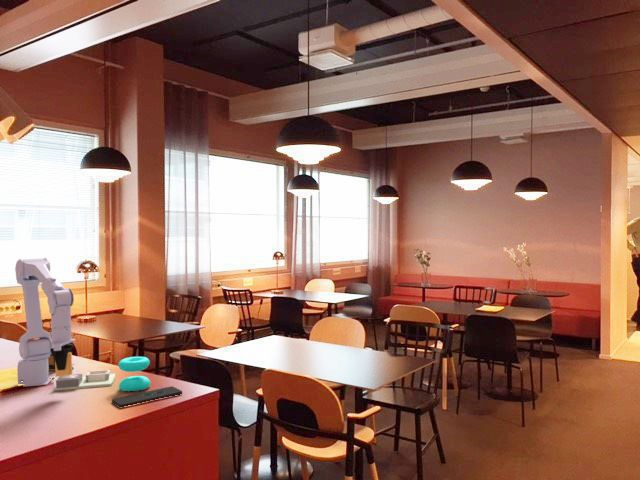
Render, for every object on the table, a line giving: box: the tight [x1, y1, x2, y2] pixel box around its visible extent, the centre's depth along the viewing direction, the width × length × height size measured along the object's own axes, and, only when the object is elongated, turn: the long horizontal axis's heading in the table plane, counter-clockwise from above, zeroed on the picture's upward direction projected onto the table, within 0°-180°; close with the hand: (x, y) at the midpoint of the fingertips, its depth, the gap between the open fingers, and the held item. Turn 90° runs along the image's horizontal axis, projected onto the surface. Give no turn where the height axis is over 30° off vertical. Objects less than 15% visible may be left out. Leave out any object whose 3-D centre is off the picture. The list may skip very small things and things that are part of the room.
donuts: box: [118, 356, 151, 393], centre depth 183 cm, size 10×10×10 cm
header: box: [85, 369, 112, 382], centre depth 194 cm, size 8×6×2 cm
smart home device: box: [111, 386, 183, 408], centre depth 172 cm, size 8×2×20 cm
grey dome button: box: [55, 373, 83, 388], centre depth 187 cm, size 7×7×3 cm
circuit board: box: [54, 372, 117, 392], centre depth 191 cm, size 18×14×1 cm
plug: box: [55, 351, 73, 377], centre depth 176 cm, size 5×3×7 cm, turn 105°
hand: (62, 368), depth 176 cm, fingers closed on plug, 3 cm apart
